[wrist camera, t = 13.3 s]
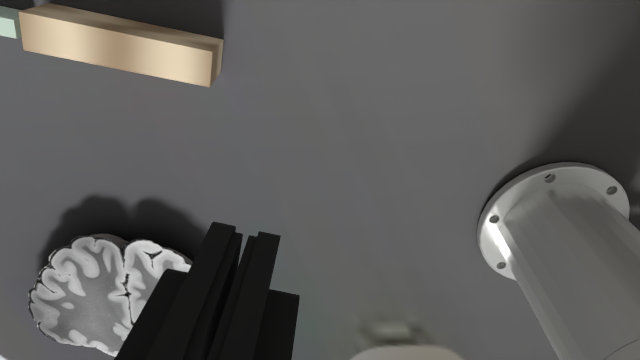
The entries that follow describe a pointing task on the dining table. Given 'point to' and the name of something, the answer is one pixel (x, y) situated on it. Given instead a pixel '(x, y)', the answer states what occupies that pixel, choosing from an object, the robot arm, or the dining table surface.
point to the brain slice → (98, 289)
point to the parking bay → (10, 22)
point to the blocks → (121, 43)
